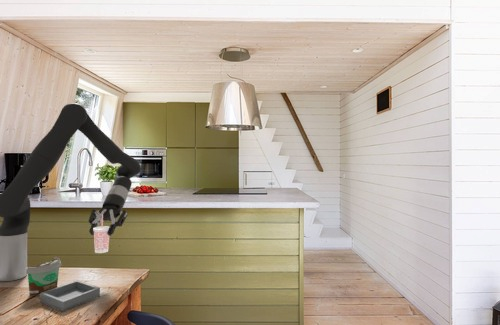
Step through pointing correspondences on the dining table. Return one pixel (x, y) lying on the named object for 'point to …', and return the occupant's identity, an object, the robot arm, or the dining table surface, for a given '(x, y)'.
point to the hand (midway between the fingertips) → (100, 234)
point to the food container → (43, 276)
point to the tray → (69, 295)
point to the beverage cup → (101, 238)
